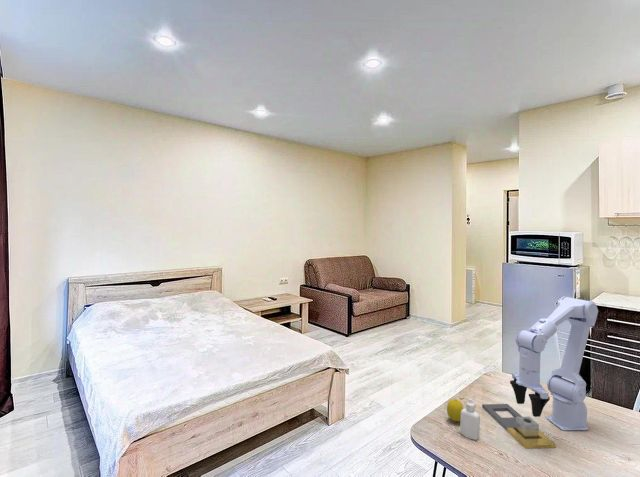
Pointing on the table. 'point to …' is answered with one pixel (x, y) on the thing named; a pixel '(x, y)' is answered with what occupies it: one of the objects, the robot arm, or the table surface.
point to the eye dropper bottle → (470, 421)
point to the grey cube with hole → (527, 427)
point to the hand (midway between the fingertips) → (528, 409)
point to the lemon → (454, 409)
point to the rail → (510, 427)
